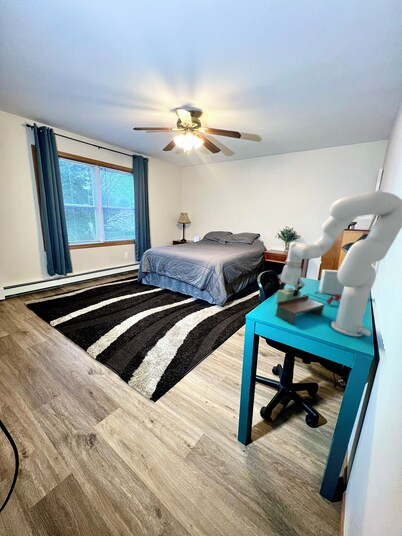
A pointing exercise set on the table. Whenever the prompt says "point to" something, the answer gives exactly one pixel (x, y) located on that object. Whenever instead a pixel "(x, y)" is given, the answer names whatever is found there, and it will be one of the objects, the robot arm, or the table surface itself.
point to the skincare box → (330, 283)
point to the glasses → (328, 298)
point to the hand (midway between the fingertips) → (288, 293)
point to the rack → (297, 308)
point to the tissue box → (286, 294)
